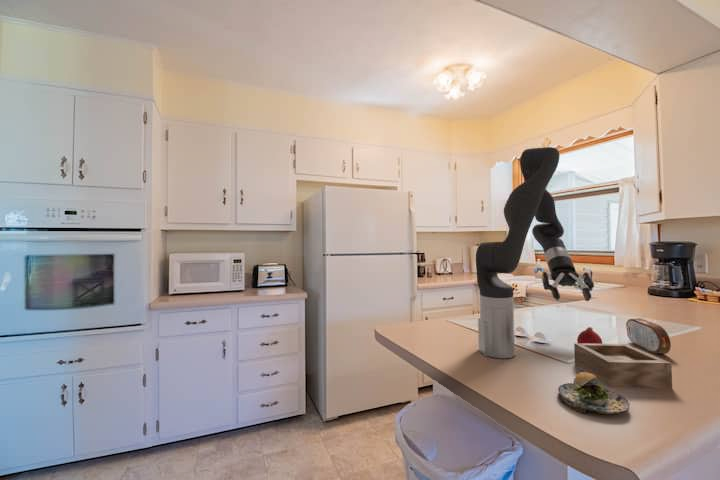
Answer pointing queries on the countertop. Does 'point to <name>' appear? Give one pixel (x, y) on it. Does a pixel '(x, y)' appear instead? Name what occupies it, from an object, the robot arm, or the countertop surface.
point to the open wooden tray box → (623, 366)
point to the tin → (648, 336)
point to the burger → (590, 396)
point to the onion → (589, 337)
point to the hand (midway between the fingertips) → (573, 299)
